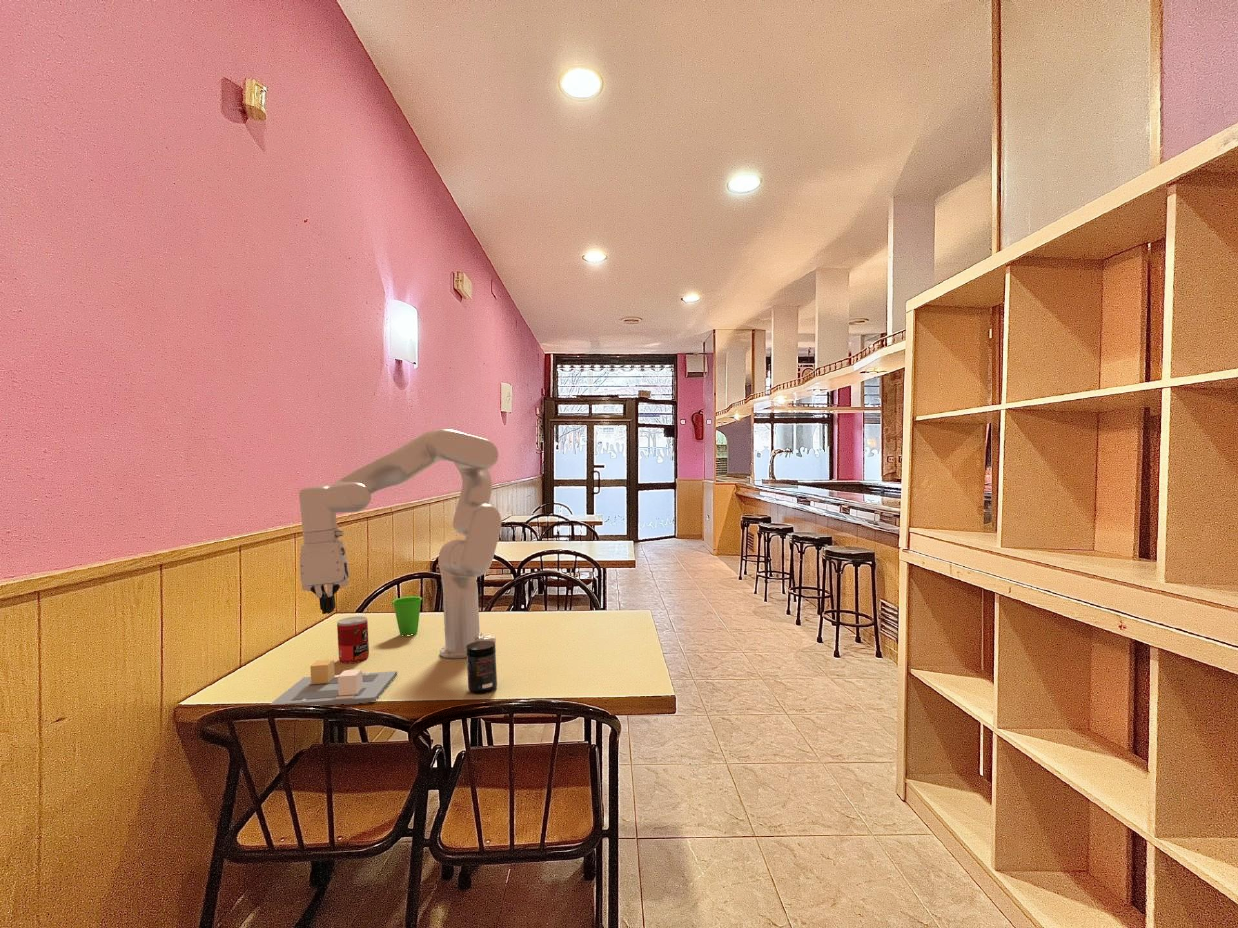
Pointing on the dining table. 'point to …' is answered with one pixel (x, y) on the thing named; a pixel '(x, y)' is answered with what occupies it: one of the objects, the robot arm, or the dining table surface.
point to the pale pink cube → (350, 682)
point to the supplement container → (481, 667)
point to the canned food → (353, 639)
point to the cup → (407, 614)
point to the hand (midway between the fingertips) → (328, 612)
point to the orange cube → (322, 671)
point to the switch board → (335, 691)
